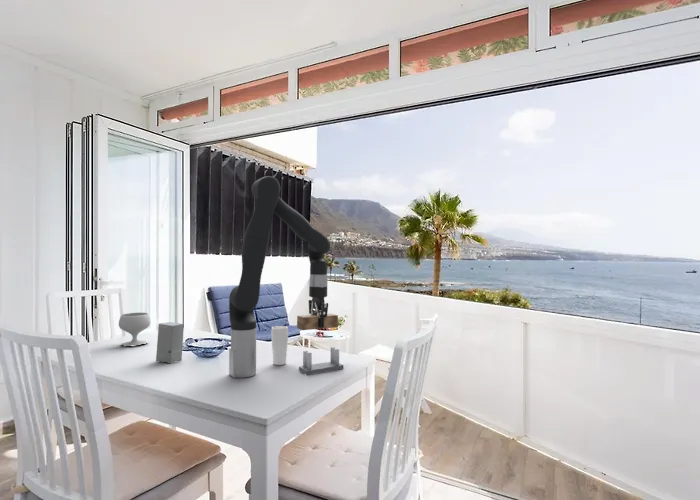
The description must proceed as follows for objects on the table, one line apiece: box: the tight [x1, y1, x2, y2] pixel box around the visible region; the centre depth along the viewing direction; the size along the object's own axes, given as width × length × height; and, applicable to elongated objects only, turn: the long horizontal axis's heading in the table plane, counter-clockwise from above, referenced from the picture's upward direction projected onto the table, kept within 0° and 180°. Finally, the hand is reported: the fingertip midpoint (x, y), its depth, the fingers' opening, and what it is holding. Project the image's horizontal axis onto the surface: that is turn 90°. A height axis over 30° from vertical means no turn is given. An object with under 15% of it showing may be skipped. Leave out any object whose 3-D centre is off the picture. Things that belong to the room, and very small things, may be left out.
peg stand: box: [298, 346, 345, 376], centre depth 159 cm, size 16×7×8 cm, turn 121°
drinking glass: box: [270, 325, 289, 366], centre depth 167 cm, size 7×7×15 cm
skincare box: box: [155, 321, 185, 364], centre depth 172 cm, size 8×7×16 cm
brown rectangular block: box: [296, 313, 339, 331], centre depth 169 cm, size 16×6×5 cm, turn 121°
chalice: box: [118, 312, 151, 347], centre depth 202 cm, size 14×14×15 cm
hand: (317, 326), depth 168 cm, fingers closed on brown rectangular block, 5 cm apart
